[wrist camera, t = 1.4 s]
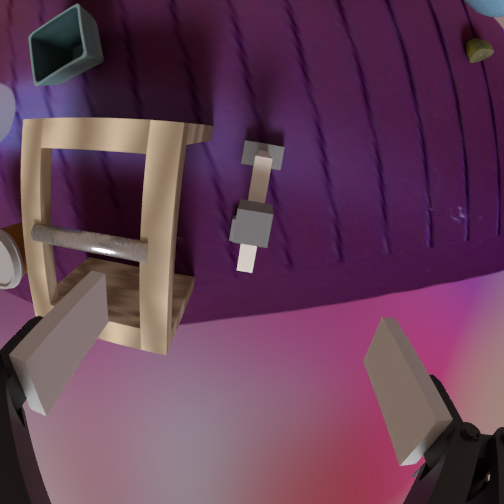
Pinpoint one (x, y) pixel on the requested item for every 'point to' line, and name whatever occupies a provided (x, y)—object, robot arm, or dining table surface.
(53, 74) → the flower pot
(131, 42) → the dining table surface
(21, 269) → the disposable coffee cup
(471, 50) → the lime
